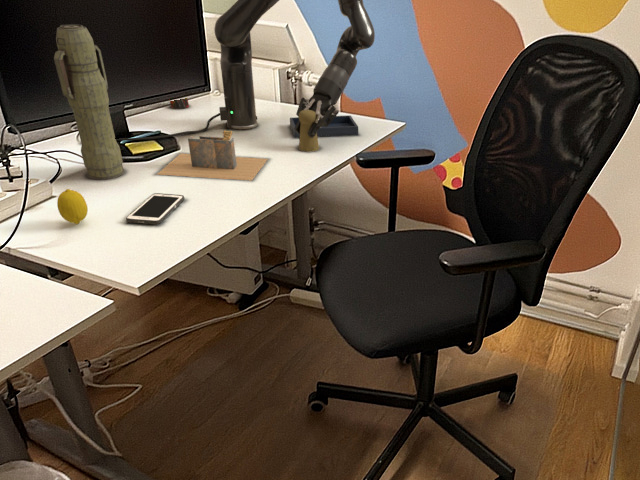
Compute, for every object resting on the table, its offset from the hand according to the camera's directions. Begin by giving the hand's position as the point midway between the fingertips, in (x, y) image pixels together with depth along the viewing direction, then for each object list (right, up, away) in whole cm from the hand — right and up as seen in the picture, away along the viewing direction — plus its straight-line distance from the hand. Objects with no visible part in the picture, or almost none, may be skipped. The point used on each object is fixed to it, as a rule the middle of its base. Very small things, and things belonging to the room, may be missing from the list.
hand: (303, 133), depth 173 cm
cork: (+1, -3, +4) cm, 5 cm away
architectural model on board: (-22, -12, -11) cm, 28 cm away
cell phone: (-28, -28, -36) cm, 54 cm away
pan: (+3, +6, +19) cm, 20 cm away
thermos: (-48, -16, -19) cm, 54 cm away
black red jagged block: (-49, +19, +35) cm, 63 cm away
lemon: (-42, -32, -43) cm, 68 cm away
